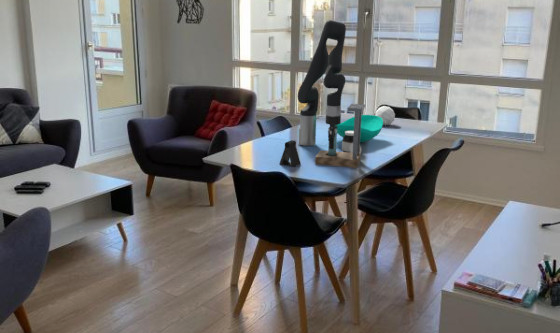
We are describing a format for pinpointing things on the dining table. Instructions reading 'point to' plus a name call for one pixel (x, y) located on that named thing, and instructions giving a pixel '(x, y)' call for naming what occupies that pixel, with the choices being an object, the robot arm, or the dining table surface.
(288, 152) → the phone stand
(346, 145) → the spread jar
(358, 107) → the sheltered socket
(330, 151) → the peg
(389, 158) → the dining table surface
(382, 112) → the geodesic sphere
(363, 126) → the table top decor
